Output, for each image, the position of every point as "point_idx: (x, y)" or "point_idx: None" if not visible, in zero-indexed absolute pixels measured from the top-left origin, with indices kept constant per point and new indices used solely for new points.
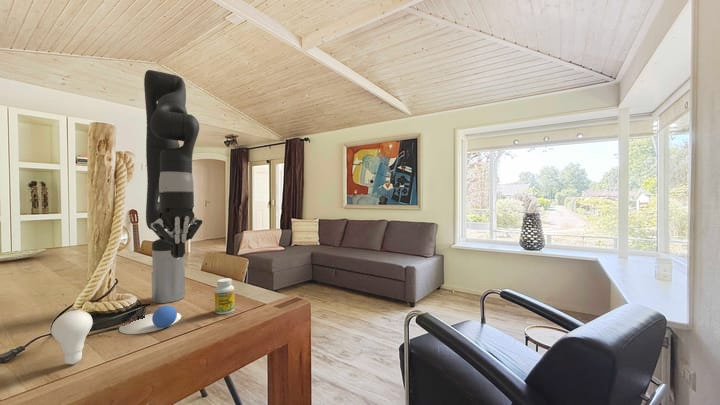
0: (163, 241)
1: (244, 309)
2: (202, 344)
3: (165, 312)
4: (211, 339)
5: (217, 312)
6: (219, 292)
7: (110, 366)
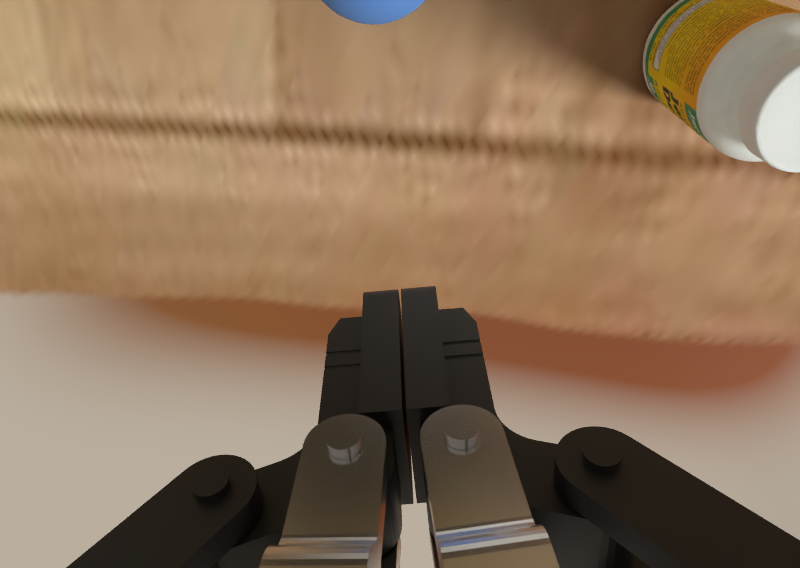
0: (203, 463)
1: None
2: None
3: (352, 10)
4: None
5: (644, 58)
6: (699, 121)
7: (70, 175)
